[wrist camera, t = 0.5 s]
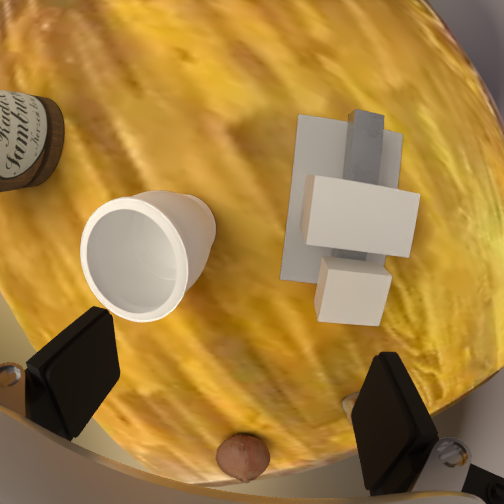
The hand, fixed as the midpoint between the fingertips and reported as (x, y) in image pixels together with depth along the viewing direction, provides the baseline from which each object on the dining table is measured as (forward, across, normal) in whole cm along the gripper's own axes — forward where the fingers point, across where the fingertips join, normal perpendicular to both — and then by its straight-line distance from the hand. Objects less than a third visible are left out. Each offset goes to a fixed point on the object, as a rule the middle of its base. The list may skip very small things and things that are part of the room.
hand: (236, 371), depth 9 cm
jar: (+27, +10, +2) cm, 29 cm away
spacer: (+20, -9, +3) cm, 22 cm away
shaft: (+23, -9, -4) cm, 24 cm away
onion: (+27, -1, +39) cm, 48 cm away
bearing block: (+27, -8, -4) cm, 29 cm away
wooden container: (+27, +39, -10) cm, 48 cm away
